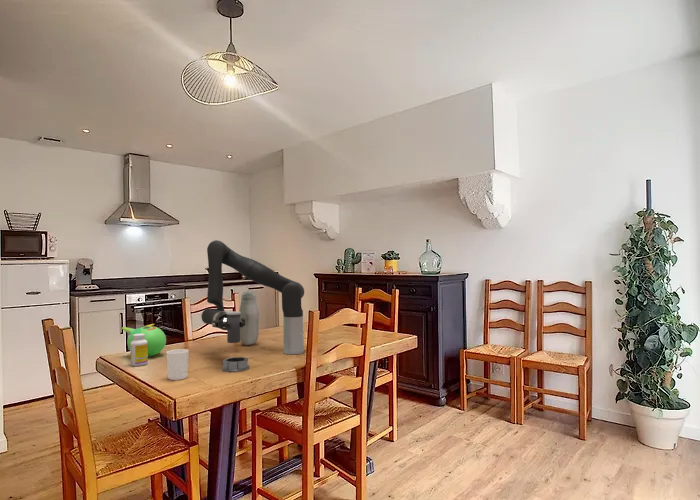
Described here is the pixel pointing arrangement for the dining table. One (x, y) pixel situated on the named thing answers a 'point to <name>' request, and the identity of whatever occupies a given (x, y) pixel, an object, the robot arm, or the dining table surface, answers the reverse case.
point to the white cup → (177, 364)
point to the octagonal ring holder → (235, 364)
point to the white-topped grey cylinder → (233, 327)
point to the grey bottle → (249, 318)
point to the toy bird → (149, 338)
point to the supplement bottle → (138, 350)
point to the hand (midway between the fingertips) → (235, 325)
